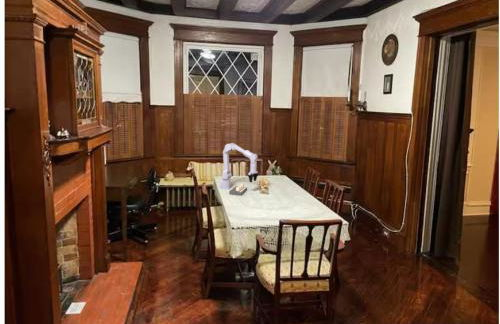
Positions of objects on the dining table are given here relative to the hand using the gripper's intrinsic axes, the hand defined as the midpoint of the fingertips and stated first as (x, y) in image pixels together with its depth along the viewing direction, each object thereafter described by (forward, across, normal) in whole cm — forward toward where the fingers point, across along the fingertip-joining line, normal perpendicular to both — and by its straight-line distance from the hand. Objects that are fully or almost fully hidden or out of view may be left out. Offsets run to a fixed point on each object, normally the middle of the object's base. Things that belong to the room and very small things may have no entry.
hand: (252, 181), depth 346 cm
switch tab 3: (+7, -3, +10) cm, 12 cm away
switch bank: (+10, -10, +9) cm, 17 cm away
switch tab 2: (+6, -10, +8) cm, 14 cm away
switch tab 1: (+7, -16, +6) cm, 19 cm away
